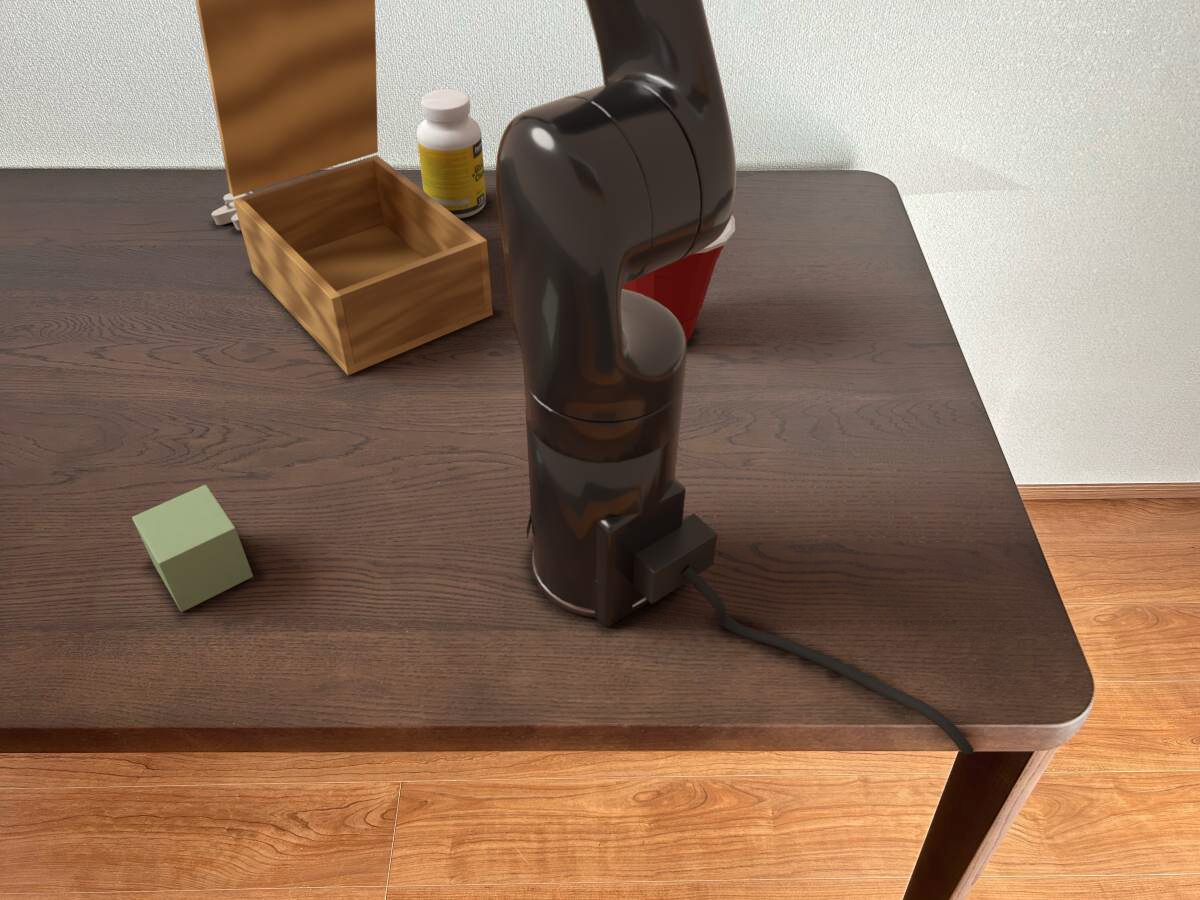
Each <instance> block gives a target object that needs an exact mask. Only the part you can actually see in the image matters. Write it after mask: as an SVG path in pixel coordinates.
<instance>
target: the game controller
mask: <svg viewBox="0 0 1200 900" xmlns="http://www.w3.org/2000/svg"><path fill="white" fill-rule="evenodd" d="M252 193H254V191H251V192H248V193H245V194H242V195H238V196H235V197H233V196H232V194H231V193H230V192H229V193H227V194H225V195H224V196H223V197H222V199H223V200H224V205H223V206H221V207H219V208H217V209H215V210H213V211H212V212H211V217H212V219H213V220H214V223H215V224H216V226H223V225H227V224H230V223H233V225H234V227H235V229H236V231H242V230H241V227H240V223H239V219H238V216H237V212H236V208H235V205H234V201H233V200H234V199H236V198H240V197H243V196H246V195H249V194H252Z"/></svg>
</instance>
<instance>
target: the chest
mask: <svg viewBox="0 0 1200 900" xmlns="http://www.w3.org/2000/svg"><path fill="white" fill-rule="evenodd" d="M233 201H234V205H235V208H236V212H237V216H238V219H239V223H240V227H241V230H240V231H241V234H242V237H243V240H244V241H243V242H244V244H245V248H246V251H247V252H246V253H247V255H248V259H249V263H250V266H251V270H252V273H253V275H255V276H256V278H257V279H259V281H261V283H262V284H263V285H264V286H265V287H266V289H268V291H270V292H271V294H272V295H273V296H274V297H275V298H276V299H277V300H278V301H279V302H280V304H281V305H282V306H283V307H284V308H285V309H286V310H287V311H288V313H290V314H291V315H292V317H294V318H295V319H296V321H297V322H298V323H299V324H300V325H301V326H302V328H304V329H305V330H306V331H307V333H308V334H309V335H310V336H311V337H312V338H313V339H314V340H315V341H316V342H317V344H319V346H320V347H321V348H322V349H323V350H324V351H325V352H326V353H327V354H328V355H329V356H330V358H331V359H332V360H333V362H335V363H336V364H337V365H338V366H339V367H340V368H341V369H342V371H343V372H345V374H346V375H347V376H351V375H353V374H356V373H357V372H360V371H362V370H364V369H367V368H369V367H372V366H374V365H376V364H379V363H381V362H383V361H386V360H388V359H390V358H393V357H396V356H398V355H400V354H403V353H405V352H407V351H410V350H412V349H415V348H417V347H419V346H422V345H424V344H427V343H429V342H431V341H433V340H436V339H438V338H441V337H443V336H446V335H449V334H450V333H453V332H455V331H457V330H460V329H462V328H464V327H467V326H469V325H471V324H474V323H477V322H480V321H481V320H484V319H486V318H488V317H491V316H493V315H494V313H493V302H492V289H491V276H490V275H491V274H490V264H489V263H490V261H489V251H488V250H489V249H488V240H487V239H486V238H484V237H483V236H482V235H480V233H478V232H477V231H476V230H474V229H473V228H472V227H470V226H469V225H468V224H466V222H464V221H463V220H461V218H457V217H456V216H455V215H453V214H452V213H451V212H450V211H448V210H447V209H446V208H444V207H443V206H442V205H441V204H439V203H438V202H437V201H435V200H434V199H433V198H432V197H430V196H429V195H428V194H426V193H425V192H424V190H423V189H421V188H420V187H419V186H417V185H416V184H415V183H414V182H412V181H411V180H410V179H408V178H407V176H405V175H403V174H402V173H401V172H399V171H398V170H397V169H396V168H394V167H393V166H392V165H391V164H389V163H388V162H387V161H385V160H384V159H383V158H381V157H380V156H379V155H378V154H376V155H371V156H369V157H366V158H365V157H364V158H362V159H357V160H356V161H355V160H354V161H351V162H349V163H346V164H343V165H342V164H341V165H340V166H339V165H338V166H335V167H333V168H329V169H327V170H326V169H325V170H322V171H319V172H317V173H314V174H311V175H307V176H303V177H301V178H298V179H294V180H291V181H287V182H285V183H284V182H283V183H282V184H279V185H278V184H277V185H276V186H272V187H269V188H268V187H267V188H265V189H262V190H259V191H256V192H255V191H254V192H253V193H252V194H249V195H246V196H243V197H240V198H236V199H234V200H233Z"/></svg>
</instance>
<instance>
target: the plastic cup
mask: <svg viewBox="0 0 1200 900" xmlns="http://www.w3.org/2000/svg"><path fill="white" fill-rule="evenodd" d="M735 232H736V221H735V216H734V215H733V214H732V215H731V219H730V221H729V223H728V225H727V226H726V228H725V230H724V232H723V233H722V234H721V236H720V237H719V238H718V239H717V240H716V241H714V242H713V243H711V244H710V245H709V246H707V247H706V248H704V249H702V250H700V251H698V252H696V253H694V254H692V255H690V256H688V257H686V258H684V259H681V260H679V261H676V262H674V263H672V264H670V265H667V266H665V267H663V268H661V269H658V270H656V271H654V272H651V273H649V274H647V275H644V276H642V277H640V278H638V279H635V280H633V281H631V282H629V283H626V284H624V285H623V287H622V289H626V290H630V291H633V292H637V293H640V294H642V295H645V296H647V297H650V298H652V299H654V300H655V301H657V302H659V303H660V304H662V305H663V306H665V307H666V308H667V309H668V310H670V311H671V312H672V313H673V314H674V315H675V316H676V318H677V319H678V321H679V322H680V324H681V325H682V328H683V330H684V333H685V337H686V342H687V343H688V342H689V340H690V339H691V337H692V334H693V333H694V331H695V329H696V324H697V321H698V317H699V315H700V311H701V310H702V308H703V304H704V302H705V298H706V296H707V292H708V289H709V285H710V283H711V279H712V276H713V274H714V270H715V267H716V265H717V262H718V259H720V255H721V253H722V250H723V249H724V247H725V244H726V243H727V242H728V241H729V240H730V238H732V236H733V235H734V233H735Z"/></svg>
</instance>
